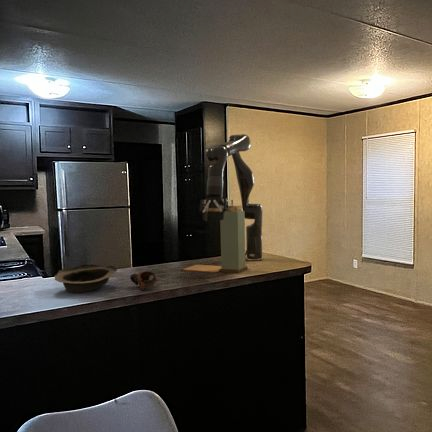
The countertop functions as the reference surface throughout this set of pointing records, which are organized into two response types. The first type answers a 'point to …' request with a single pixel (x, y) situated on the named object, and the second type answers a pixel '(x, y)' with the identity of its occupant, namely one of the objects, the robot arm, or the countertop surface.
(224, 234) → the stand
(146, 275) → the pottery mug
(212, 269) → the mat
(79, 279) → the stone bowl
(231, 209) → the tan bread loaf
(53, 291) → the countertop surface
